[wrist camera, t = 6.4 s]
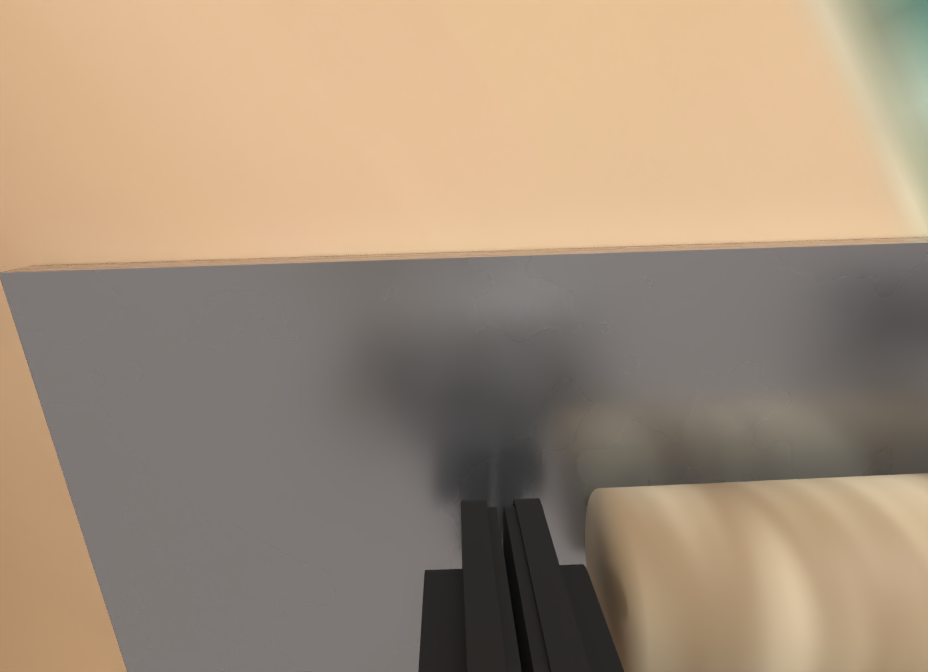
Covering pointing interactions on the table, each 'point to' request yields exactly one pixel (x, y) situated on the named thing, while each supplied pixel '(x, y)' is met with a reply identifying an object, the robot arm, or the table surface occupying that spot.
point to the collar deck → (437, 416)
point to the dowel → (764, 574)
